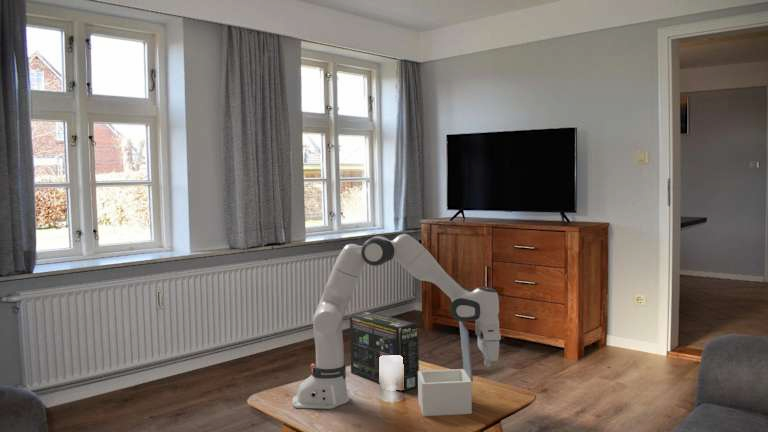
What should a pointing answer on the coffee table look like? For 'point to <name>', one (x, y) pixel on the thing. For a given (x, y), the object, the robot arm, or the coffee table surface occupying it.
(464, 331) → the lid flap
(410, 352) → the router box
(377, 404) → the coffee table surface
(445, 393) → the carton
